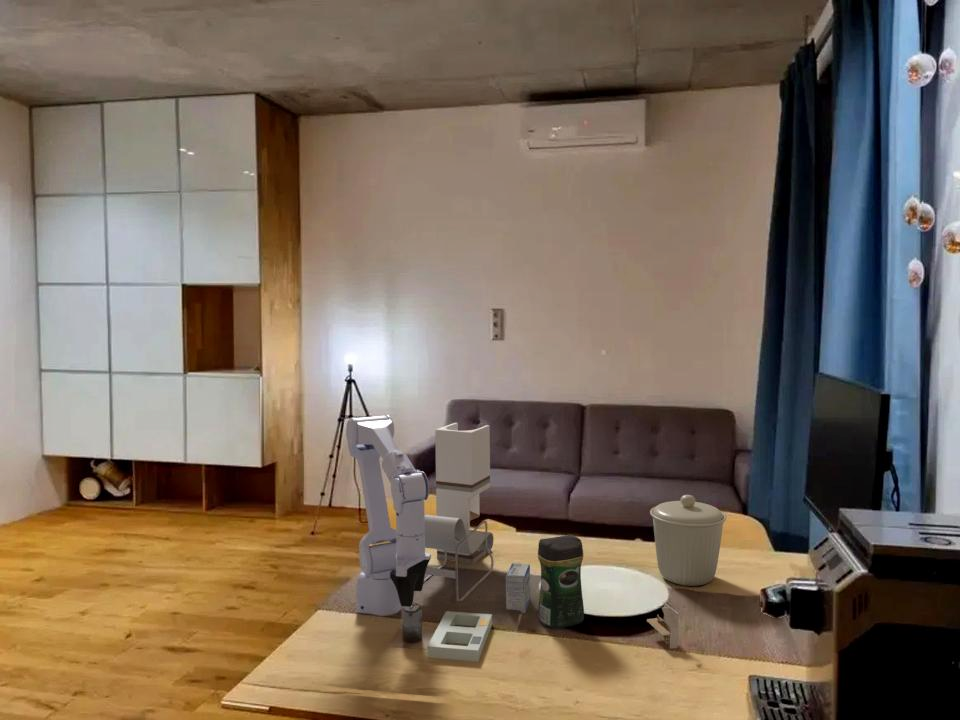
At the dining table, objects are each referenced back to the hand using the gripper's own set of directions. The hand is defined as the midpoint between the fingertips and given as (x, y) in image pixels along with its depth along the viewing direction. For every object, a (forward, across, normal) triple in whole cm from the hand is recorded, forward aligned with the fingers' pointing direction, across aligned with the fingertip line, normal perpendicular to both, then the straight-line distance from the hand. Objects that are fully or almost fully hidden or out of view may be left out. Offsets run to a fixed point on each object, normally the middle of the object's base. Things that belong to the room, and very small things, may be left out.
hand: (411, 597), depth 149 cm
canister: (+10, +44, -58) cm, 73 cm away
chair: (+10, +32, -1) cm, 33 cm away
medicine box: (+10, +21, -19) cm, 30 cm away
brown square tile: (+9, 0, 0) cm, 9 cm away
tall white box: (+10, +52, 0) cm, 53 cm away
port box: (+9, +1, -10) cm, 14 cm away
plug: (+9, 0, 0) cm, 9 cm away
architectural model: (+10, +9, -51) cm, 53 cm away
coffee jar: (+10, +15, -29) cm, 34 cm away
